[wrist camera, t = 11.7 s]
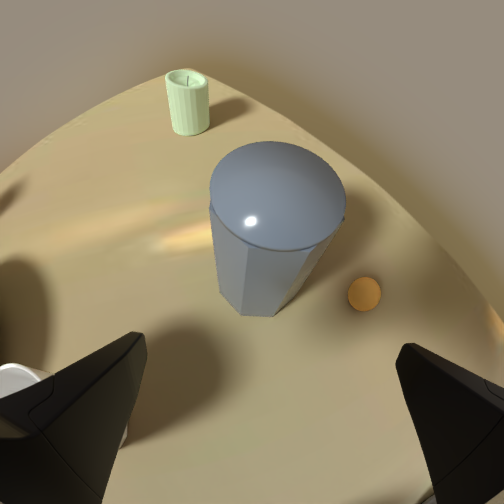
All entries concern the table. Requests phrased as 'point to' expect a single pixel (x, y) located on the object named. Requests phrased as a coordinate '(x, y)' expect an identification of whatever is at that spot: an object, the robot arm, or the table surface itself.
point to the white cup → (24, 381)
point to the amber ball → (364, 294)
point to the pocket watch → (431, 500)
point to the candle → (188, 101)
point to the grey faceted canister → (271, 222)
